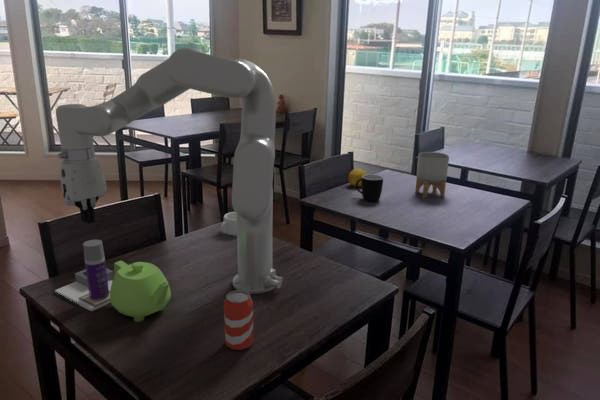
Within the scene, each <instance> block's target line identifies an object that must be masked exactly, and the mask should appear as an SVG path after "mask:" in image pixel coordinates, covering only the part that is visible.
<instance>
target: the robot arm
mask: <svg viewBox="0 0 600 400" xmlns="http://www.w3.org/2000/svg"><path fill="white" fill-rule="evenodd" d="M189 90H194V91H198V92H203V93H207V94H210V95H214V96H218V97H222V98H227V99H232V100H233V99H240V100H241V115H240V116H241V118H240V119H241V124H240V138H239V142H238V144H237V147H236V149H235V151H234V157H233V167H232V187H231V188H232V190H231V204H232V209H233V210H234V212H236V213H237V236H236V250H237V251H236V252H237V274H236V275H234V276H233V278H232V286H233V288H234V289H235V290H244V291H246V292H248V293H249V294H250V295H251V294H252V295H257V294H264V293H267V292H270V291H273V290H274V289H275V288H276V289H280V288H281V287H282V284H283V283H282V282H283V280H284V278H283V277H282V276H278V275H277V272H276V271H277V270H276V268H273V266H274V265H273V228H274V227H273V210H274V209H273V206H274V204H273V203H274V201H273V199H274V189H273V182H274V181H273V180H274V171H275V170H274V167H275V158H276V147H275V135H276V116H277V115H276V113H277V101H276V100H277V99H276V92H275V89H274V86H273V84H272V81H271V80H270V78H269V76H268V75H267V73H266V72H265V71H264V70H262V69H261V68H260V67H259V66H258V65H257V64H255V63H253V62H252V61H250V60H248V59H244V58H237V59H236V58H234V59H231V58H225V57H222V56H216V55H214V54H213V55H212V54H210V53H209V54H208V53H205V52H204V51H203V50H202V49H199V48H197V47H193V46H192V47H182V48H178V49H176V50H175V51H173V52H172V53H171V55H170V56H169V58H167V59H166V60H164V61H163V62H161V63H159V64H158V65H156V66H154V67H152V68H151V69H149V70H147V71H146V72H144V73H142V74H141V75H139V77H138V78H137V80H136V81H135V82H134V84H133V85H131V86H130V87H129V88H127V89H126V90H124V91H122V92H121V93H119V94H118V95H116V96H114V97H113V98H111V99H109V100H107V101H105V102H101V103H98V104H96V105H92V106H91V105H90V106H87V105H85V104H81V103H79V104H78V103H70V104H69V103H68V104H67V103H66V104H62V105H59V106H57V107H56V109H55V117H56V123H57V131H58V135H59V143H60V152H58V153H57V158H58V159H59V160H61V159H62V161H60V186H61V194H62V197H63V198H64V205H65V206H68V207H72V206H75V207H77V208H78V209H79V212H80V219H81V221H82V222H83V223H85V224H88V225H89V224H93V223H95V221H96V219H95V217H96V213H95V207H96V205H97V204H96V203H97V202H98V201H99V199H102V198H103V197H105V195H106V192H107V191H108V190H107V182H106V177H105V172H104V170H103V166H102V163H101V160H100V158H99V156H97V155H96V152H95V145H94V138H93V136H94V137H106V136H109V135H111V134H114V133H115V132H117V131H119V130H120V129H123V128H124V127H126V126H128V125H129V124H131V123H132V122H134V121H136V120H138V119H140V118H141V117H143V116H144V115H146V114H148V113H149V112H151V111H154V110H155V109H159V108H160V107H162V106H164V105H166V104H168V103H169V102H171V101H173V99H176V98H178V97H179V96H180V95H182V94H184V93H185V92H187V91H189Z"/></svg>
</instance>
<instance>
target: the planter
mask: <svg viewBox="0 0 600 400" xmlns="http://www.w3.org/2000/svg"><path fill="white" fill-rule="evenodd" d="M449 161H450V155H448V154H446V153H442V152H436V151H435V152H434V151H424V152H423V151H422V152H419V153H418V156H417V164H416V165H417V168H416V176H415V177H416V180H415V193H419V192H420V190H421V188H422V187H423V189H422V198H423V199H427V198H428V192H429V190H430V187H431V186H432V192H434V193H436V192H437V191H439V194H440V197H439V198H445V193H446V185H447V177H448V169H449V163H450V162H449Z"/></svg>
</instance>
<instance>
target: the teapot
mask: <svg viewBox="0 0 600 400" xmlns="http://www.w3.org/2000/svg"><path fill="white" fill-rule="evenodd" d="M113 265H114V266H113V274H114V279H112V281H113V282H112V285H111V290H110V301H111V303H110V304H111V305H112V306H113V308H114V309H115V310H116V311H118V313H119V314H122V315H125V316H128V317H132V318H133V321H134V322H136V323H137V322H139V323H140V322H143V321H144V320H146V319H145V318H146V317H147V316H150V315H152V314H154V313H156V312H160V311H164V310H165V309H166V306H167V304H168V303H169V301H170V300H171V296H172V293H171V292H172V291H171V287H170V283H169V282H168V280H167V279H166V277H165V275H164V274H163V272H162V271H161V269H160V268H159V267H158V266H156V265H155V264H152V263H150V262H145V261H144V262H143V261H137V262H132V263H130V264H128V263H126V262H124V261H123V260H122V259H121V260H119V261H116V262H114V264H113Z"/></svg>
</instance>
